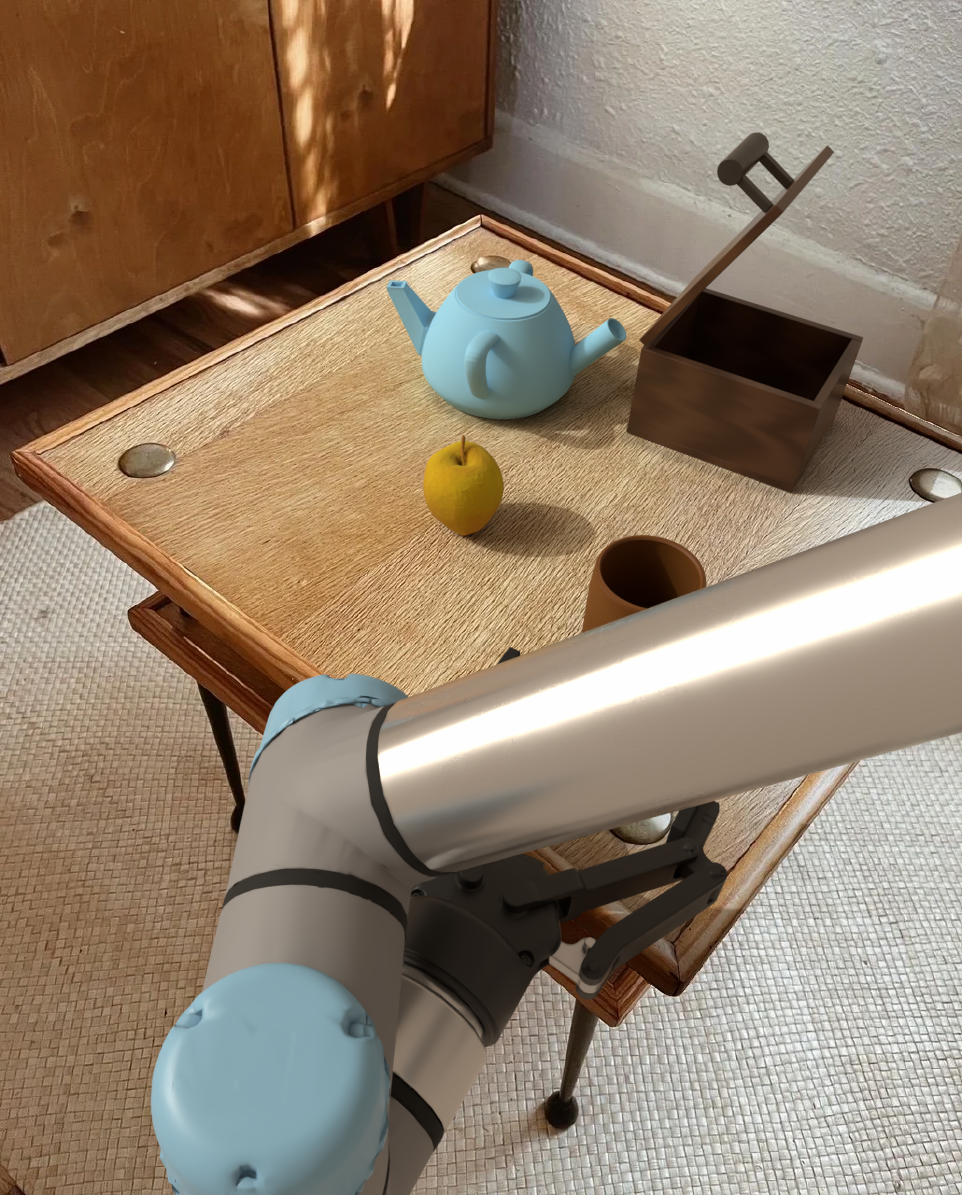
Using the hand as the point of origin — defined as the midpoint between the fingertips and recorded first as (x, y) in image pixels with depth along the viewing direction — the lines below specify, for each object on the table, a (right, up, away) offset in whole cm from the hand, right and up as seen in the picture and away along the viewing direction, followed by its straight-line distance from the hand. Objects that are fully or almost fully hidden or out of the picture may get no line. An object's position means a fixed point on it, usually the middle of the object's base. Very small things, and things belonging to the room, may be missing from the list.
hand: (611, 708), depth 63 cm
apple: (-10, +13, +21) cm, 26 cm away
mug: (+4, +1, +10) cm, 11 cm away
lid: (+13, +35, +21) cm, 43 cm away
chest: (+15, +22, +32) cm, 42 cm away
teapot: (-6, +27, +35) cm, 45 cm away
